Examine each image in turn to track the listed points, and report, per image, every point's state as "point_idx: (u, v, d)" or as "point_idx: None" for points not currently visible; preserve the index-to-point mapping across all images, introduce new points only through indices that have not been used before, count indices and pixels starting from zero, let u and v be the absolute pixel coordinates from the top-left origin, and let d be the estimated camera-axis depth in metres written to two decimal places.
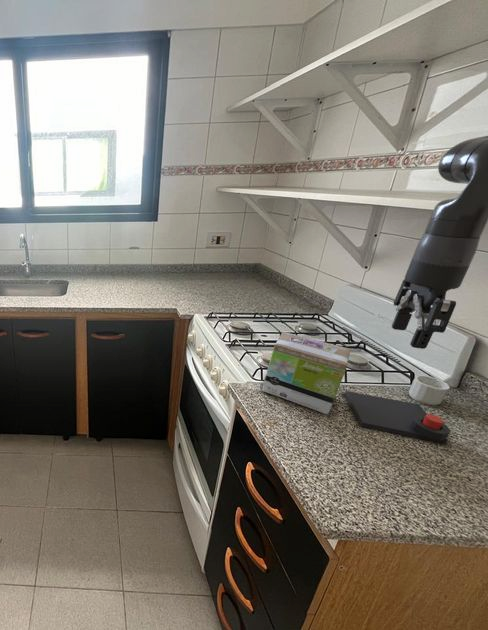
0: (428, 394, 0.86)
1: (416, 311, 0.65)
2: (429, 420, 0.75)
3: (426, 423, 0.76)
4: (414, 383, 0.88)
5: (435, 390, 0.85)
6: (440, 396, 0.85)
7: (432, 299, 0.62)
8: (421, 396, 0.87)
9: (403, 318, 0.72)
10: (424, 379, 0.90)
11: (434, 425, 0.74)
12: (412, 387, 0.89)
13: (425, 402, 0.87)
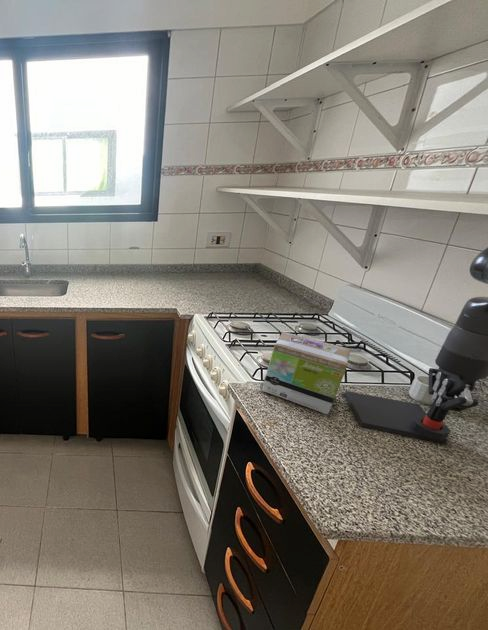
0: (428, 394, 0.86)
1: (440, 392, 0.72)
2: (429, 420, 0.75)
3: (425, 423, 0.76)
4: (414, 383, 0.88)
5: None
6: None
7: (462, 387, 0.68)
8: (421, 396, 0.87)
9: None
10: (424, 379, 0.90)
11: (434, 425, 0.74)
12: (412, 387, 0.89)
13: (425, 402, 0.87)
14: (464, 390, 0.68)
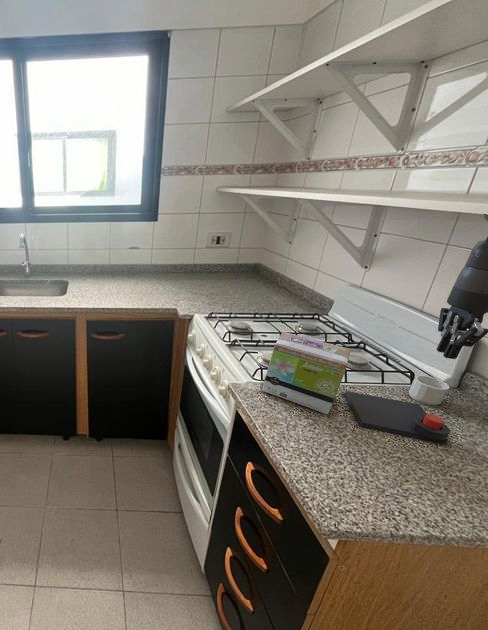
0: (428, 394, 0.86)
1: (453, 329, 0.80)
2: (429, 420, 0.75)
3: (426, 423, 0.76)
4: (414, 383, 0.88)
5: (435, 390, 0.85)
6: (440, 396, 0.85)
7: (472, 320, 0.76)
8: (421, 396, 0.87)
9: (447, 342, 0.84)
10: (424, 379, 0.90)
11: (434, 425, 0.74)
12: (412, 387, 0.89)
13: (425, 402, 0.87)
14: (473, 323, 0.76)
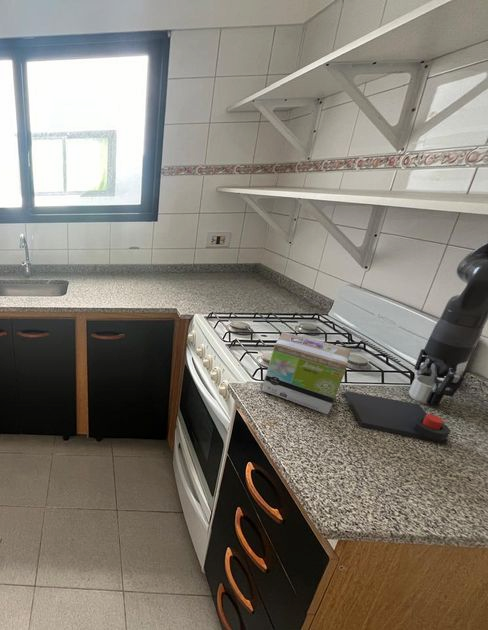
0: (428, 394, 0.86)
1: (432, 377, 0.84)
2: (429, 420, 0.75)
3: (426, 423, 0.76)
4: (414, 383, 0.88)
5: None
6: None
7: (446, 370, 0.81)
8: (421, 396, 0.87)
9: None
10: (424, 379, 0.90)
11: (434, 425, 0.74)
12: (412, 387, 0.89)
13: (425, 402, 0.87)
14: (448, 372, 0.81)
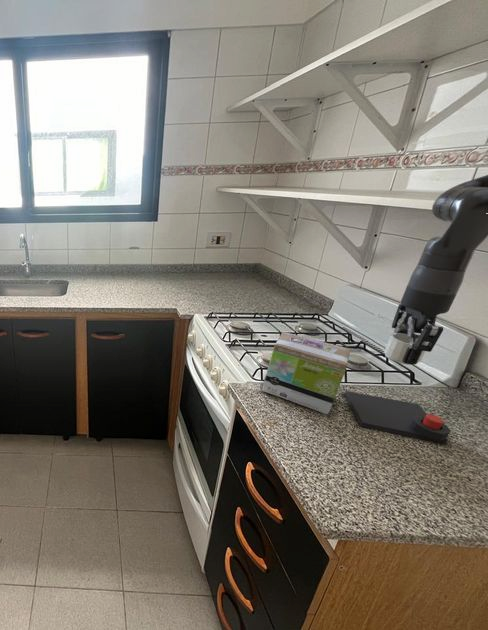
0: (404, 352, 0.76)
1: (409, 332, 0.75)
2: (429, 420, 0.75)
3: (426, 423, 0.76)
4: (390, 341, 0.79)
5: None
6: None
7: (424, 322, 0.72)
8: (397, 355, 0.77)
9: None
10: (401, 337, 0.80)
11: (434, 425, 0.74)
12: (388, 346, 0.80)
13: (401, 361, 0.77)
14: (425, 325, 0.72)
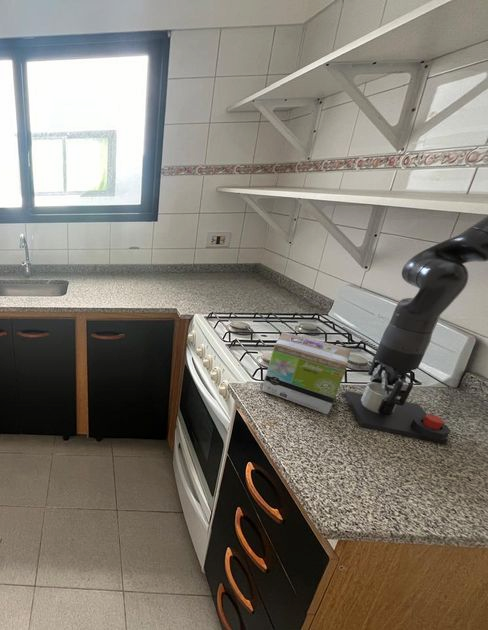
0: (379, 402, 0.81)
1: (383, 385, 0.79)
2: (429, 420, 0.75)
3: (426, 423, 0.76)
4: (365, 391, 0.84)
5: None
6: None
7: (395, 377, 0.77)
8: (372, 404, 0.82)
9: None
10: (377, 386, 0.85)
11: (434, 425, 0.74)
12: (364, 395, 0.84)
13: (376, 411, 0.82)
14: (397, 380, 0.77)
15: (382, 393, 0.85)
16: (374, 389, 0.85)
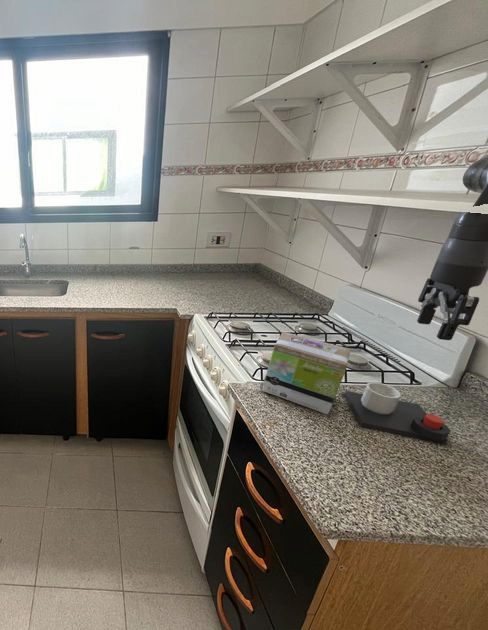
0: (379, 402, 0.81)
1: (442, 307, 0.73)
2: (429, 420, 0.75)
3: (426, 423, 0.76)
4: (365, 391, 0.84)
5: (386, 398, 0.80)
6: (391, 405, 0.80)
7: (457, 296, 0.70)
8: (372, 404, 0.82)
9: (427, 313, 0.80)
10: (377, 386, 0.85)
11: (434, 425, 0.74)
12: (364, 395, 0.84)
13: (376, 411, 0.82)
14: (458, 299, 0.70)
15: (382, 393, 0.85)
16: (374, 389, 0.85)
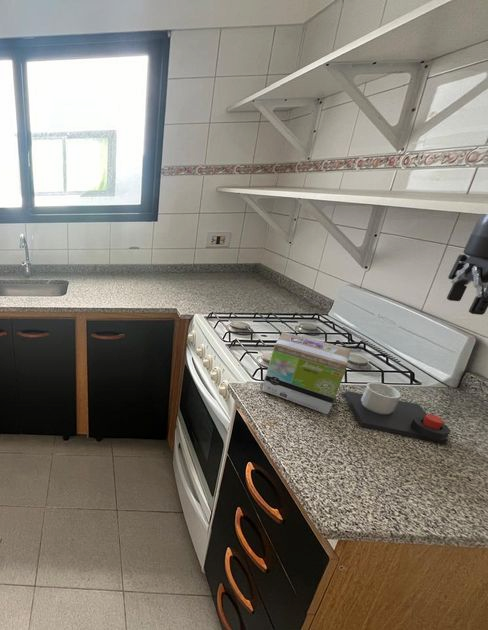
0: (379, 402, 0.81)
1: (475, 281, 0.73)
2: (429, 420, 0.75)
3: (426, 423, 0.76)
4: (365, 391, 0.84)
5: (386, 398, 0.80)
6: (391, 405, 0.80)
7: None
8: (372, 404, 0.82)
9: (458, 289, 0.80)
10: (377, 386, 0.85)
11: (434, 425, 0.74)
12: (364, 395, 0.84)
13: (376, 411, 0.82)
14: None
15: (382, 393, 0.85)
16: (374, 389, 0.85)
